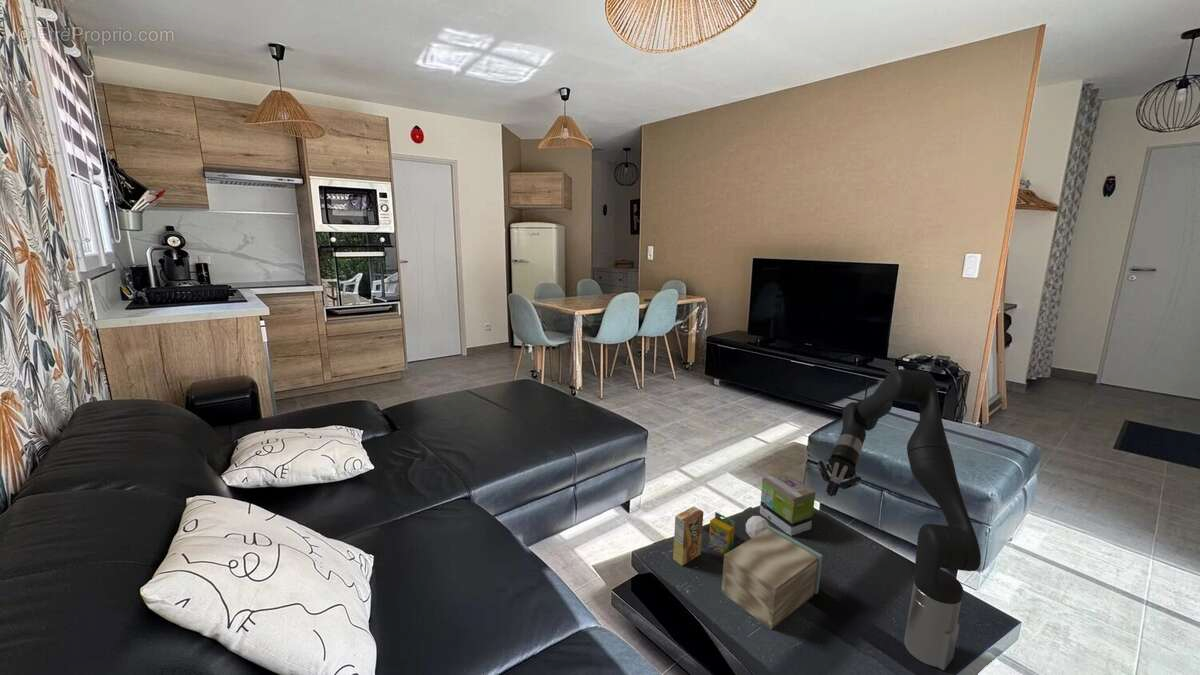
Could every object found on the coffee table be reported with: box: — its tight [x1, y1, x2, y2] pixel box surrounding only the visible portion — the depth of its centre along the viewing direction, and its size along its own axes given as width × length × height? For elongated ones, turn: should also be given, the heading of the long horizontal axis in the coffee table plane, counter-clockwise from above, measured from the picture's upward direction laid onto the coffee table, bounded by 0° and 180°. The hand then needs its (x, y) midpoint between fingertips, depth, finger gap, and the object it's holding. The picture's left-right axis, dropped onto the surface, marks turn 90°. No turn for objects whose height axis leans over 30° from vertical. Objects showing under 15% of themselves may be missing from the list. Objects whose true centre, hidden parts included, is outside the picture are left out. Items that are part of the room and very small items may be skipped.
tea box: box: [759, 472, 816, 537], centre depth 164 cm, size 15×10×15 cm
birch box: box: [721, 529, 818, 630], centre depth 131 cm, size 16×20×12 cm
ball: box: [745, 515, 771, 539], centre depth 156 cm, size 8×8×8 cm
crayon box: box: [708, 511, 736, 556], centre depth 149 cm, size 7×3×12 cm, turn 42°
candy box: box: [672, 505, 704, 566], centre depth 145 cm, size 9×4×15 cm, turn 129°
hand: (830, 494), depth 141 cm, fingers closed
